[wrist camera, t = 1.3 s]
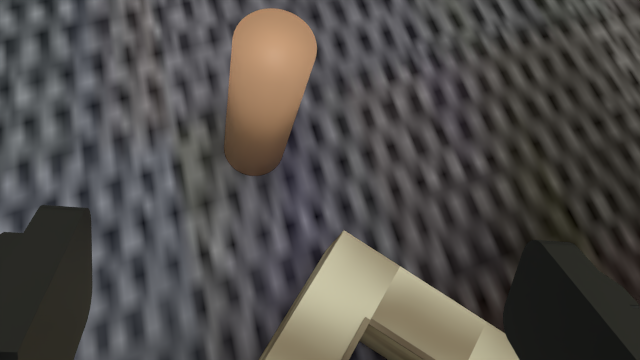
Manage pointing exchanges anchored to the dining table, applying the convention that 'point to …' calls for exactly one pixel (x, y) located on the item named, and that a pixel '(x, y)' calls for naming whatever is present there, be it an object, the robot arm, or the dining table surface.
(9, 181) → the dining table surface
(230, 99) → the peg
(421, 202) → the dining table surface
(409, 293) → the socket
